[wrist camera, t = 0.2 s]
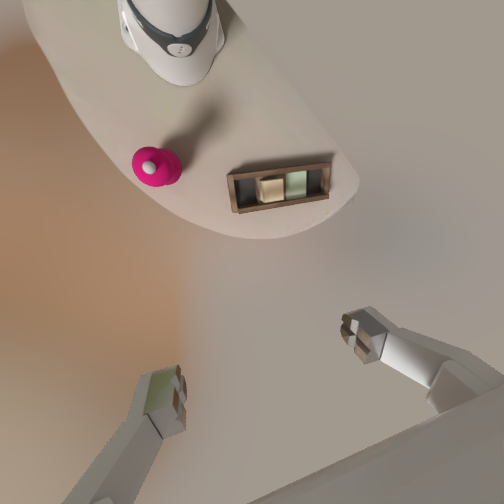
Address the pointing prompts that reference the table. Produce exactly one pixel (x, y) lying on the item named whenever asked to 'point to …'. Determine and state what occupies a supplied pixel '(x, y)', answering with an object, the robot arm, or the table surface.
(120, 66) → the table surface
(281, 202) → the tray
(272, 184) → the maple block
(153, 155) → the pepper mill
